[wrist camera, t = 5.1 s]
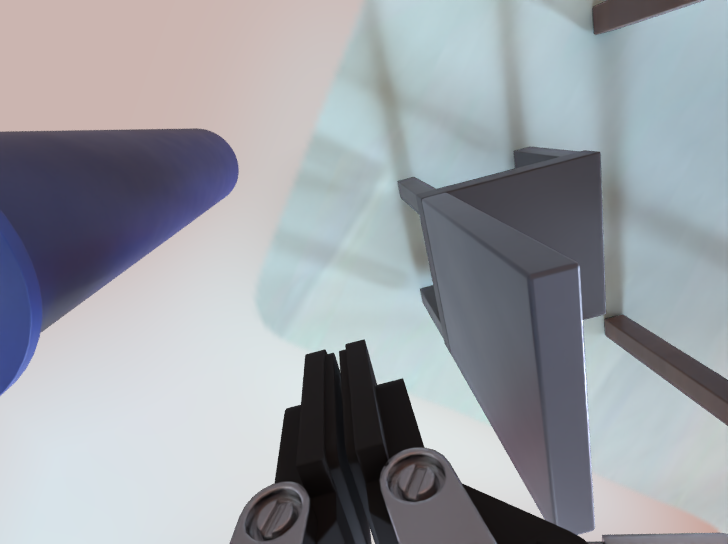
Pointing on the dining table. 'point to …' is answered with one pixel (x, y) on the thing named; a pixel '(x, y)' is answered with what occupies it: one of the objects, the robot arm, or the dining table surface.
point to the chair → (523, 309)
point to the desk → (698, 382)
